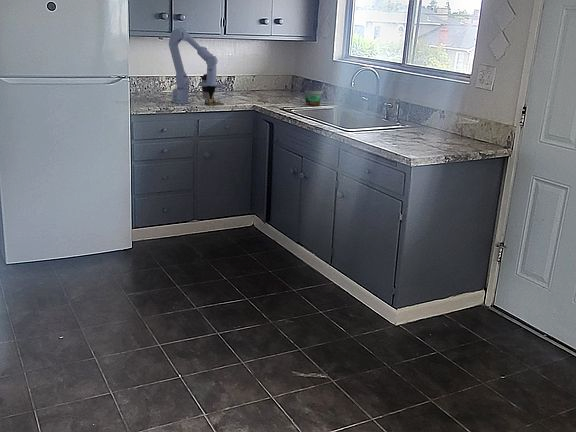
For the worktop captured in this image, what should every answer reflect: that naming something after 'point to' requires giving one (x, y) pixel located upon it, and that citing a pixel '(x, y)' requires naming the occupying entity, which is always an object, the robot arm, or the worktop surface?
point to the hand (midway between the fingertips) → (210, 98)
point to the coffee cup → (204, 89)
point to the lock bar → (211, 100)
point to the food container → (313, 97)
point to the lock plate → (212, 103)
